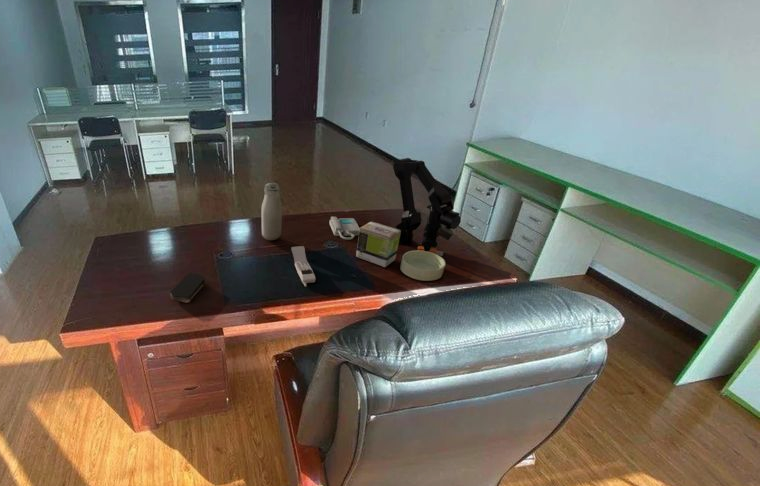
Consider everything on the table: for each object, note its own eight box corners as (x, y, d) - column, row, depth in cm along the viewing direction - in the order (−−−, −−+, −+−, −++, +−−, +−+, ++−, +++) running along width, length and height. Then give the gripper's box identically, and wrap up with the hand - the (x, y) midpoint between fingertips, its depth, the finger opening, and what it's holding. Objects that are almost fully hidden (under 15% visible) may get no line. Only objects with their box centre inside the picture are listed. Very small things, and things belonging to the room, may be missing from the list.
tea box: (395, 259, 178) (402, 229, 170) (384, 268, 172) (390, 237, 164) (366, 249, 187) (371, 220, 178) (354, 257, 181) (359, 227, 172)
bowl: (397, 277, 166) (400, 265, 163) (402, 258, 179) (404, 247, 176) (441, 285, 161) (444, 273, 158) (442, 265, 174) (446, 254, 171)
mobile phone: (303, 245, 178) (318, 273, 158) (303, 257, 181) (317, 286, 161) (290, 246, 177) (303, 275, 157) (290, 258, 181) (303, 287, 160)
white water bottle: (264, 244, 191) (264, 188, 175) (259, 235, 199) (258, 180, 183) (284, 242, 193) (285, 186, 177) (278, 233, 201) (279, 178, 185)
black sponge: (189, 279, 166) (188, 272, 164) (207, 283, 164) (206, 275, 162) (169, 301, 154) (167, 293, 152) (188, 305, 152) (187, 297, 149)
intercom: (339, 236, 188) (329, 215, 208) (338, 244, 191) (328, 223, 211) (366, 236, 188) (354, 214, 209) (365, 244, 191) (353, 222, 211)
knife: (416, 253, 183) (418, 247, 181) (417, 251, 185) (418, 245, 183) (442, 257, 179) (443, 251, 177) (442, 255, 181) (444, 249, 179)
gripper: (454, 232, 163) (444, 264, 172) (455, 215, 177) (445, 246, 186) (426, 227, 167) (417, 260, 176) (428, 211, 181) (421, 242, 190)
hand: (426, 251), depth 182 cm, fingers open, 3 cm apart
